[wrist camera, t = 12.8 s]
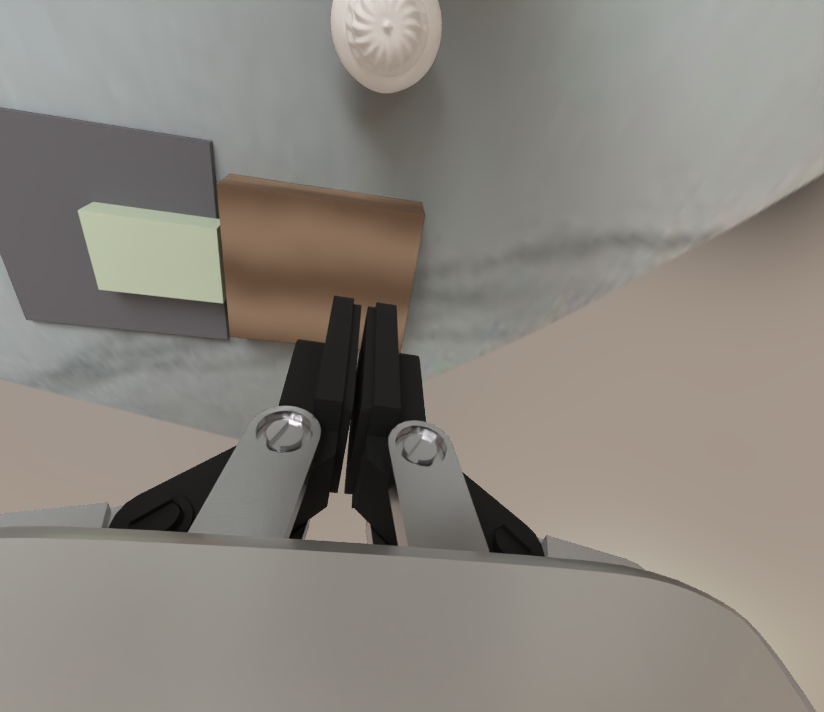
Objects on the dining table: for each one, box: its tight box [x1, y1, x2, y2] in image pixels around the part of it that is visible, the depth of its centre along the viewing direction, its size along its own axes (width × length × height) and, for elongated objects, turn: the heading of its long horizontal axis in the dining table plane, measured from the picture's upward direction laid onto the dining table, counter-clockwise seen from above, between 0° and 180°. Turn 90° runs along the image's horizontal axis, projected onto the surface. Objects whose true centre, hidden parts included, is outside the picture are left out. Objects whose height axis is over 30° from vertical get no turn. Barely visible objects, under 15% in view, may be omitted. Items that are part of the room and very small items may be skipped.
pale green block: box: [78, 202, 227, 303], centre depth 33 cm, size 9×6×2 cm, turn 81°
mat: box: [0, 107, 229, 340], centre depth 33 cm, size 16×16×1 cm
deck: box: [217, 174, 425, 353], centre depth 34 cm, size 12×14×3 cm
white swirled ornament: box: [331, 0, 442, 93], centre depth 24 cm, size 6×6×7 cm
